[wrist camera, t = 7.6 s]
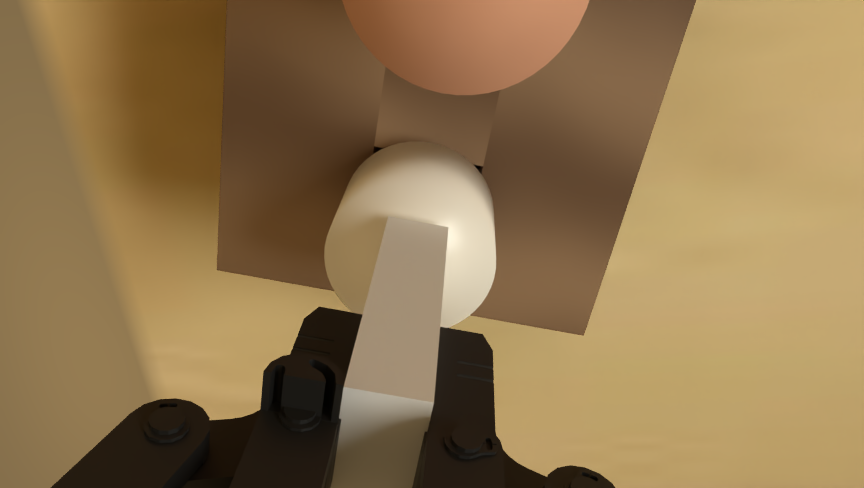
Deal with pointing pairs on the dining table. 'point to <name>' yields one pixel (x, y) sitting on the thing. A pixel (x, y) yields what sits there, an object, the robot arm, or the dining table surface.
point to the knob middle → (465, 39)
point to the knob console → (450, 127)
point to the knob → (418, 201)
